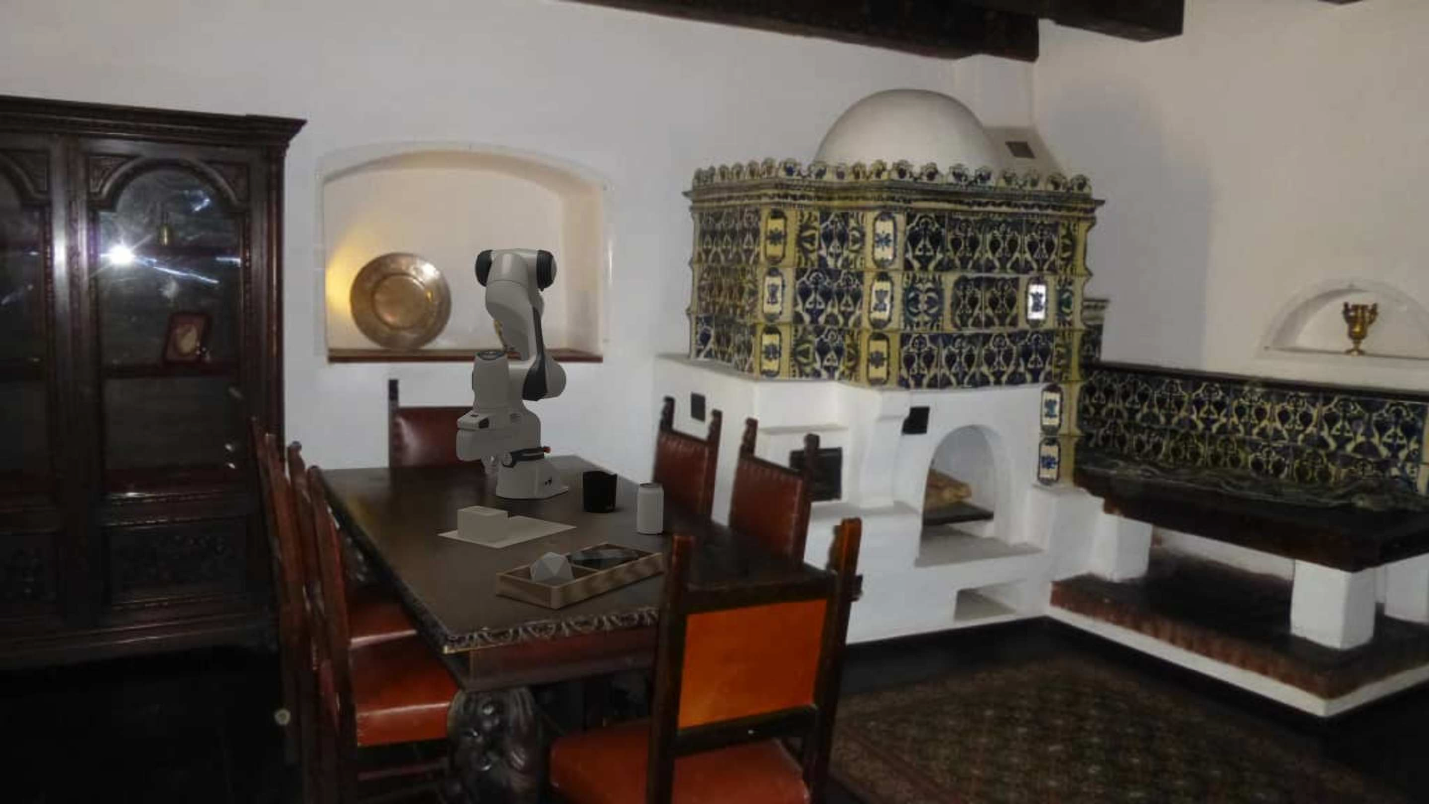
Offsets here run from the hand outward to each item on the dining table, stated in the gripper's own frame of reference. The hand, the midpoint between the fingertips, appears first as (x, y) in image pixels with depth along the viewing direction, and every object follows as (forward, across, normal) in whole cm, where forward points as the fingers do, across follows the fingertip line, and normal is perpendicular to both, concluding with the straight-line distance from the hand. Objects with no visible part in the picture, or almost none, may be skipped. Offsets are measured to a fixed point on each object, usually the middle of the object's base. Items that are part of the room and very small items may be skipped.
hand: (492, 473), depth 263 cm
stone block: (+14, +14, +46) cm, 50 cm away
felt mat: (+14, -1, +4) cm, 15 cm away
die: (+13, +31, +46) cm, 57 cm away
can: (+15, -24, +30) cm, 42 cm away
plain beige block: (+7, +7, +4) cm, 11 cm away
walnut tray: (+13, +21, +46) cm, 52 cm away
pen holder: (+16, -36, +5) cm, 40 cm away
